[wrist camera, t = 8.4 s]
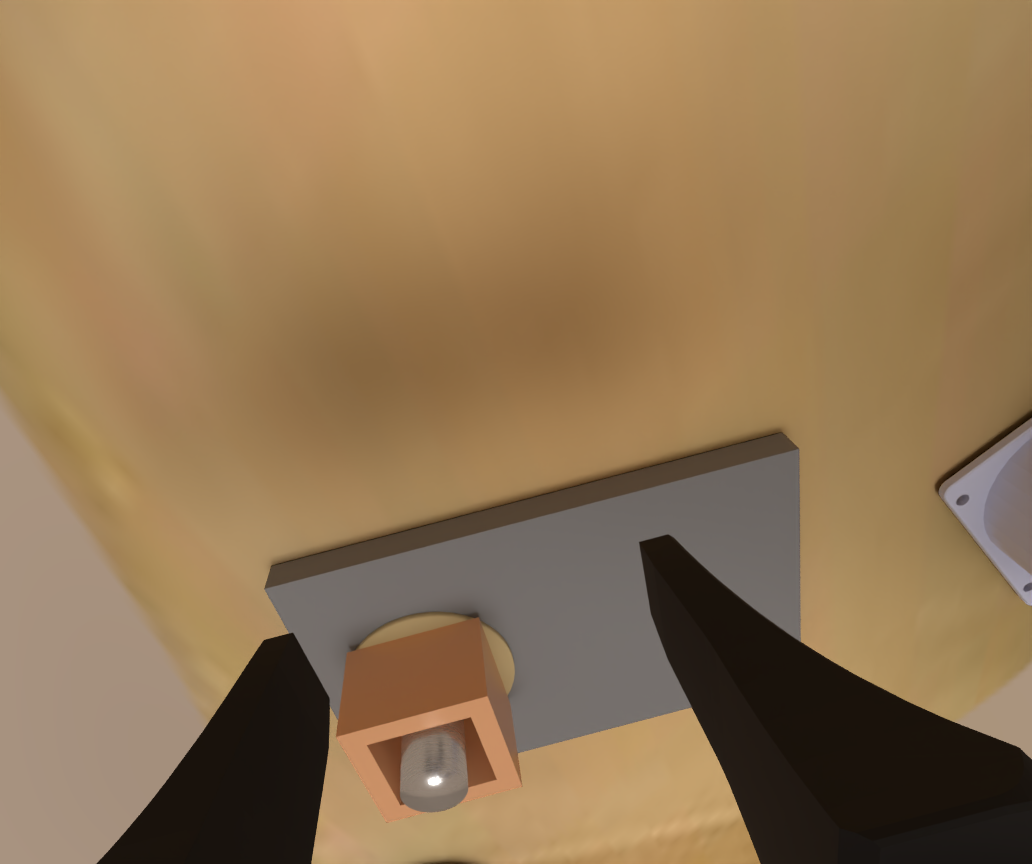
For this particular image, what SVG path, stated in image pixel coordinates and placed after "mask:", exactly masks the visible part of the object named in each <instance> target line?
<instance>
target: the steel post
mask: <svg viewBox="0 0 1032 864" xmlns="http://www.w3.org/2000/svg"><path fill="white" fill-rule="evenodd" d="M467 793H468V775H467V760H466V745H465V730H464V719H462V720H458V721H455V722H451V723H447V724H443V725H440V726H436V727H432V728H429V729H425V730H421V731H417V732H414V733H410V734H406V735H403V736H402V741H401V775H400V797H401V800H402V802H403V803H404V804H405V805H406V806H408V807H409V808H411V809H413V810H416V811H420V812H439V811H444V810H447V809H450V808H452V807H454V806H456V805H457V804H459V803H460V802H461V801H462V800H463V799H464V798H465V797H466V795H467Z"/></svg>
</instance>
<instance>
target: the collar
mask: <svg viewBox="0 0 1032 864" xmlns="http://www.w3.org/2000/svg"><path fill="white" fill-rule="evenodd" d="M462 719H464V730H465V745H466V760H467V775H468V793H467V795H466V797H465V798H464V799H463V800H462V801H461V802H460V803H463V802H467V801H470V800H474V799H478V798H481V797H485V796H489V795H493V794H496V793H500V792H504V791H507V790H511V789H515V788H519V787H522V781H521V774H520V767H519V760H518V753H517V746H516V739H515V732H514V725H513V718H512V711H511V704H510V701H509V699H508V696H507V693H506V690H505V688H504V685H503V682H502V679H501V677H500V674H499V671H498V668H497V666H496V663H495V660H494V657H493V654H492V652H491V649H490V646H489V643H488V641H487V638H486V635H485V632H484V630H483V627H482V624H481V621H480V619H479V617H477V618H474V619H470V620H466V621H463V622H459V623H455V624H451V625H448V626H444V627H440V628H437V629H433V630H429V631H425V632H422V633H418V634H414V635H411V636H407V637H403V638H399V639H396V640H392V641H388V642H385V643H381V644H377V645H373V646H370V647H366V648H362V649H359V650H355V651H351V652H347V656H346V663H345V671H344V679H343V687H342V695H341V702H340V710H339V718H338V726H337V733H336V738H337V739H338V741H339V743H340V745H341V746H342V748H343V750H344V751H345V753H346V755H347V756H348V758H349V760H350V761H351V763H352V765H353V767H354V768H355V770H356V772H357V773H358V775H359V777H360V778H361V780H362V782H363V784H364V785H365V787H366V789H367V790H368V792H369V794H370V795H371V797H372V799H373V800H374V802H375V804H376V806H377V807H378V809H379V811H380V812H381V814H382V816H383V817H384V819H385V821H386V822H387V823H388V822H392V821H396V820H400V819H403V818H407V817H411V816H415V815H418V814H422V813H426V812H420V811H416V810H413V809H411V808H409V807H408V806H406V805H405V804H404V803H403V802H402V800H401V797H400V775H401V741H402V736H403V735H406V734H410V733H414V732H417V731H421V730H425V729H429V728H432V727H436V726H440V725H443V724H447V723H451V722H455V721H458V720H462Z"/></svg>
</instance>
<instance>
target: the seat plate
mask: <svg viewBox="0 0 1032 864" xmlns="http://www.w3.org/2000/svg"><path fill="white" fill-rule="evenodd" d="M667 534H669V535H670V536H672V537H674V538H675V539H676V540H677V541H678V542H679V543H680V544H681V545H682V546H683V547H684V548H685V549H686V550H687V551H688V552H689V553H690V554H691V555H692V556H693V557H694V558H695V559H696V560H697V561H698V562H699V563H700V564H701V565H703V566H704V567H705V568H706V569H707V570H708V571H709V572H710V573H711V574H713V575H714V576H715V577H716V578H717V579H718V580H719V581H721V582H722V583H723V584H724V585H725V586H727V587H728V588H729V589H730V590H731V591H733V592H734V593H735V594H736V595H738V596H739V597H740V598H741V599H742V600H744V601H745V602H746V603H747V604H749V605H750V606H751V607H753V608H754V609H755V610H756V611H758V612H759V613H760V614H762V615H763V616H764V617H766V618H767V619H769V620H770V621H771V622H773V623H774V624H775V625H777V626H778V627H780V628H781V629H782V630H784V631H785V632H787V633H788V634H790V635H791V636H793V637H794V638H796V639H797V640H799V641H800V642H801V637H800V486H799V448H798V447H797V446H796V445H795V444H794V443H793V442H792V441H791V440H790V439H789V438H788V437H787V436H786V435H785V434H783V433H778V434H774V435H771V436H767V437H763V438H759V439H755V440H752V441H748V442H744V443H740V444H736V445H732V446H729V447H725V448H721V449H717V450H713V451H710V452H706V453H702V454H698V455H694V456H690V457H687V458H683V459H679V460H675V461H671V462H668V463H664V464H660V465H656V466H652V467H648V468H645V469H641V470H637V471H633V472H629V473H625V474H622V475H618V476H614V477H610V478H606V479H603V480H599V481H595V482H591V483H587V484H583V485H580V486H576V487H572V488H568V489H564V490H561V491H557V492H553V493H549V494H545V495H541V496H538V497H534V498H530V499H526V500H522V501H519V502H515V503H511V504H507V505H503V506H499V507H496V508H492V509H488V510H484V511H480V512H476V513H473V514H469V515H465V516H461V517H457V518H454V519H450V520H446V521H442V522H438V523H434V524H431V525H427V526H423V527H419V528H415V529H412V530H408V531H404V532H400V533H396V534H392V535H389V536H385V537H381V538H377V539H373V540H369V541H366V542H362V543H358V544H354V545H350V546H347V547H343V548H339V549H335V550H331V551H327V552H324V553H320V554H316V555H312V556H308V557H305V558H301V559H297V560H293V561H289V562H285V563H282V564H278V565H274V566H271V569H270V572H269V575H268V579H267V582H266V585H265V588H264V589H265V591H266V593H267V595H268V596H269V598H270V600H271V602H272V604H273V605H274V607H275V609H276V611H277V612H278V614H279V616H280V618H281V620H282V621H283V623H284V625H285V627H286V628H287V630H288V632H289V633H294V635H295V637H296V638H297V640H298V642H299V644H300V646H301V647H302V649H303V651H304V653H305V655H306V656H307V658H308V660H309V662H310V664H311V665H312V667H313V669H314V671H315V673H316V674H317V676H318V678H319V680H320V682H321V683H322V685H323V687H324V689H325V691H326V692H327V694H328V696H329V698H330V707H331V709H332V710H333V712H334V714H335V716H336V718H337V719H338V718H339V710H340V702H341V695H342V687H343V679H344V671H345V663H346V656H347V652H351V651H355V650H359V649H362V648H366V647H370V646H373V645H377V644H381V643H385V642H388V641H392V640H396V639H399V638H403V637H407V636H411V635H414V634H418V633H422V632H425V631H429V630H433V629H437V628H440V627H444V626H448V625H451V624H455V623H459V622H463V621H466V620H470V619H474V618H477V617H479V619H480V621H481V624H482V627H483V630H484V632H485V635H486V638H487V641H488V643H489V646H490V649H491V652H492V654H493V657H494V660H495V663H496V666H497V668H498V671H499V674H500V677H501V679H502V682H503V685H504V688H505V690H506V693H507V696H508V699H509V701H510V704H511V711H512V718H513V725H514V732H515V739H516V746H517V753H520V752H524V751H528V750H531V749H535V748H539V747H543V746H547V745H550V744H554V743H558V742H562V741H566V740H569V739H573V738H577V737H581V736H585V735H588V734H592V733H596V732H600V731H604V730H607V729H611V728H615V727H619V726H623V725H626V724H630V723H634V722H638V721H642V720H645V719H649V718H653V717H657V716H660V715H664V714H668V713H672V712H676V711H679V710H683V709H687V708H691V705H690V703H689V701H688V699H687V697H686V695H685V693H684V691H683V689H682V687H681V685H680V683H679V681H678V679H677V677H676V675H675V673H674V671H673V669H672V667H671V665H670V663H669V661H668V659H667V656H666V653H665V651H664V648H663V645H662V643H661V640H660V638H659V635H658V632H657V629H656V627H655V624H654V621H653V619H652V616H651V612H650V606H649V600H648V594H647V588H646V582H645V576H644V570H643V564H642V558H641V552H640V546H639V542H640V541H644V540H648V539H652V538H656V537H659V536H663V535H667Z"/></svg>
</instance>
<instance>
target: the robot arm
mask: <svg viewBox="0 0 1032 864" xmlns="http://www.w3.org/2000/svg"><path fill="white" fill-rule="evenodd" d="M939 495H940V497H941V498H942V500H943V501H944V502H945V503H946V505H947V506H948V507H949V509H950V510H951V511H952V512H953V514H954V515H955V516H956V517H957V519H958V520H959V521H960V522H961V524H962V525H963V526H964V528H965V529H966V530H967V531H968V533H969V534H970V535H971V536H972V538H973V539H974V540H975V541H976V543H977V544H978V545H979V547H980V548H981V549H982V550H983V552H984V553H985V554H986V555H987V557H988V558H989V559H990V560H991V562H992V563H993V564H994V566H995V567H996V568H997V569H998V571H999V572H1000V573H1001V574H1002V576H1003V577H1004V578H1005V580H1006V581H1007V582H1008V583H1009V585H1010V586H1011V587H1012V588H1013V590H1014V591H1015V592H1016V593H1017V595H1018V596H1019V597H1020V599H1021V600H1023V601H1024V602H1025V603H1026V604H1027V605H1031V606H1032V418H1030V419H1029V420H1028V421H1026V422H1025V423H1024V424H1022V425H1021V426H1020V427H1018V428H1017V429H1016V430H1014V431H1013V432H1011V433H1010V434H1009V435H1007V436H1006V437H1005V438H1003V439H1002V440H1001V441H999V442H998V443H996V444H995V445H994V446H992V447H991V448H990V449H988V450H987V451H986V452H984V453H983V454H982V455H980V456H979V457H977V458H976V459H975V460H973V461H972V462H971V463H969V464H968V465H967V466H965V467H964V468H962V469H961V470H960V471H958V472H957V473H956V474H954V475H953V476H952V477H950V478H949V479H948V480H946V481H945V482H944V483H943V484H942V485H941V487H940V489H939ZM639 546H640V552H641V558H642V564H643V570H644V576H645V582H646V588H647V594H648V600H649V606H650V612H651V616H652V619H653V621H654V624H655V627H656V629H657V632H658V635H659V638H660V640H661V643H662V645H663V648H664V651H665V653H666V656H667V659H668V661H669V663H670V665H671V667H672V669H673V671H674V673H675V675H676V677H677V679H678V681H679V683H680V685H681V687H682V689H683V691H684V693H685V695H686V697H687V699H688V701H689V703H690V705H691V707H692V709H693V711H694V713H695V715H696V717H697V719H698V721H699V723H700V724H701V726H702V728H703V730H704V732H705V734H706V736H707V738H708V740H709V742H710V744H711V746H712V748H713V750H714V752H715V754H716V756H717V758H718V760H719V762H720V765H721V767H722V769H723V771H724V773H725V775H726V778H727V780H728V782H729V784H730V787H731V789H732V792H733V794H734V797H735V800H736V802H737V805H738V807H739V810H740V812H741V815H742V817H743V820H744V822H745V825H746V827H747V830H748V832H749V835H750V837H751V840H752V842H753V845H754V848H755V850H756V853H757V855H758V858H759V860H760V863H761V864H1032V759H1031V758H1030V757H1028V756H1027V755H1026V754H1025V753H1024V752H1023V751H1022V750H1021V749H1020V748H1019V747H1017V746H1014V745H1011V744H1009V743H1006V742H1004V741H1001V740H998V739H996V738H993V737H991V736H988V735H986V734H983V733H980V732H978V731H975V730H973V729H970V728H968V727H965V726H962V725H960V724H957V723H955V722H952V721H950V720H947V719H945V718H943V717H940V716H938V715H936V714H934V713H932V712H929V711H927V710H925V709H923V708H920V707H918V706H916V705H914V704H912V703H909V702H907V701H905V700H903V699H901V698H899V697H898V696H896V695H894V694H892V693H890V692H888V691H886V690H884V689H882V688H880V687H878V686H876V685H874V684H872V683H870V682H868V681H866V680H864V679H862V678H860V677H859V676H857V675H855V674H853V673H851V672H849V671H848V670H846V669H844V668H843V667H841V666H839V665H837V664H836V663H834V662H832V661H831V660H829V659H827V658H825V657H824V656H822V655H821V654H819V653H817V652H816V651H814V650H813V649H811V648H809V647H808V646H806V645H805V644H803V643H802V642H800V641H799V640H797V639H796V638H794V637H793V636H791V635H790V634H788V633H787V632H785V631H784V630H782V629H781V628H780V627H778V626H777V625H775V624H774V623H773V622H771V621H770V620H769V619H767V618H766V617H764V616H763V615H762V614H760V613H759V612H758V611H756V610H755V609H754V608H753V607H751V606H750V605H749V604H747V603H746V602H745V601H744V600H742V599H741V598H740V597H739V596H738V595H736V594H735V593H734V592H733V591H731V590H730V589H729V588H728V587H727V586H725V585H724V584H723V583H722V582H721V581H719V580H718V579H717V578H716V577H715V576H714V575H713V574H711V573H710V572H709V571H708V570H707V569H706V568H705V567H704V566H703V565H701V564H700V563H699V562H698V561H697V560H696V559H695V558H694V557H693V556H692V555H691V554H690V553H689V552H688V551H687V550H686V549H685V548H684V547H683V546H682V545H681V544H680V543H679V542H678V541H677V540H676V539H675V538H674V537H672V536H670V535H669V534H667V535H663V536H659V537H656V538H652V539H648V540H644V541H640V542H639ZM329 724H330V698H329V696H328V694H327V692H326V691H325V689H324V687H323V685H322V683H321V682H320V680H319V678H318V676H317V674H316V673H315V671H314V669H313V667H312V665H311V664H310V662H309V660H308V658H307V656H306V655H305V653H304V651H303V649H302V647H301V646H300V644H299V642H298V640H297V638H296V637H295V635H294V633H289V634H286V635H282V636H278V637H274V638H270V639H266V640H264V641H263V642H262V644H261V645H260V647H259V648H258V650H257V651H256V652H255V654H254V655H253V657H252V658H251V660H250V661H249V663H248V665H247V666H246V668H245V669H244V671H243V672H242V674H241V675H240V677H239V678H238V680H237V681H236V683H235V684H234V686H233V687H232V689H231V690H230V692H229V693H228V695H227V697H226V698H225V699H224V701H223V702H222V704H221V705H220V707H219V708H218V710H217V711H216V713H215V714H214V716H213V717H212V719H211V720H210V722H209V723H208V725H207V726H206V728H205V729H204V731H203V732H202V733H201V735H200V736H199V738H198V739H197V741H196V742H195V743H194V744H193V746H192V747H191V749H190V750H189V751H188V753H187V754H186V755H185V757H184V758H183V759H182V761H181V762H180V763H179V765H178V766H177V768H176V769H175V770H174V772H173V773H172V775H171V776H170V777H169V779H168V780H167V781H166V783H165V784H164V785H163V786H162V788H161V789H160V790H159V792H158V793H157V794H156V795H155V797H154V798H153V799H152V801H151V802H150V803H149V804H148V806H147V807H146V808H145V809H144V810H143V811H142V813H141V814H140V815H139V816H138V817H137V819H136V820H135V821H134V822H133V823H132V824H131V826H130V827H129V828H128V829H127V831H126V832H125V833H124V834H123V835H122V836H121V837H120V839H119V840H118V841H117V842H116V843H115V844H114V846H112V848H111V849H110V850H109V851H108V852H107V853H106V854H105V855H104V857H102V859H100V861H99V862H98V863H97V864H311V861H312V854H313V848H314V842H315V835H316V829H317V822H318V816H319V810H320V803H321V797H322V791H323V784H324V777H325V770H326V764H327V756H328V749H329Z"/></svg>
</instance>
